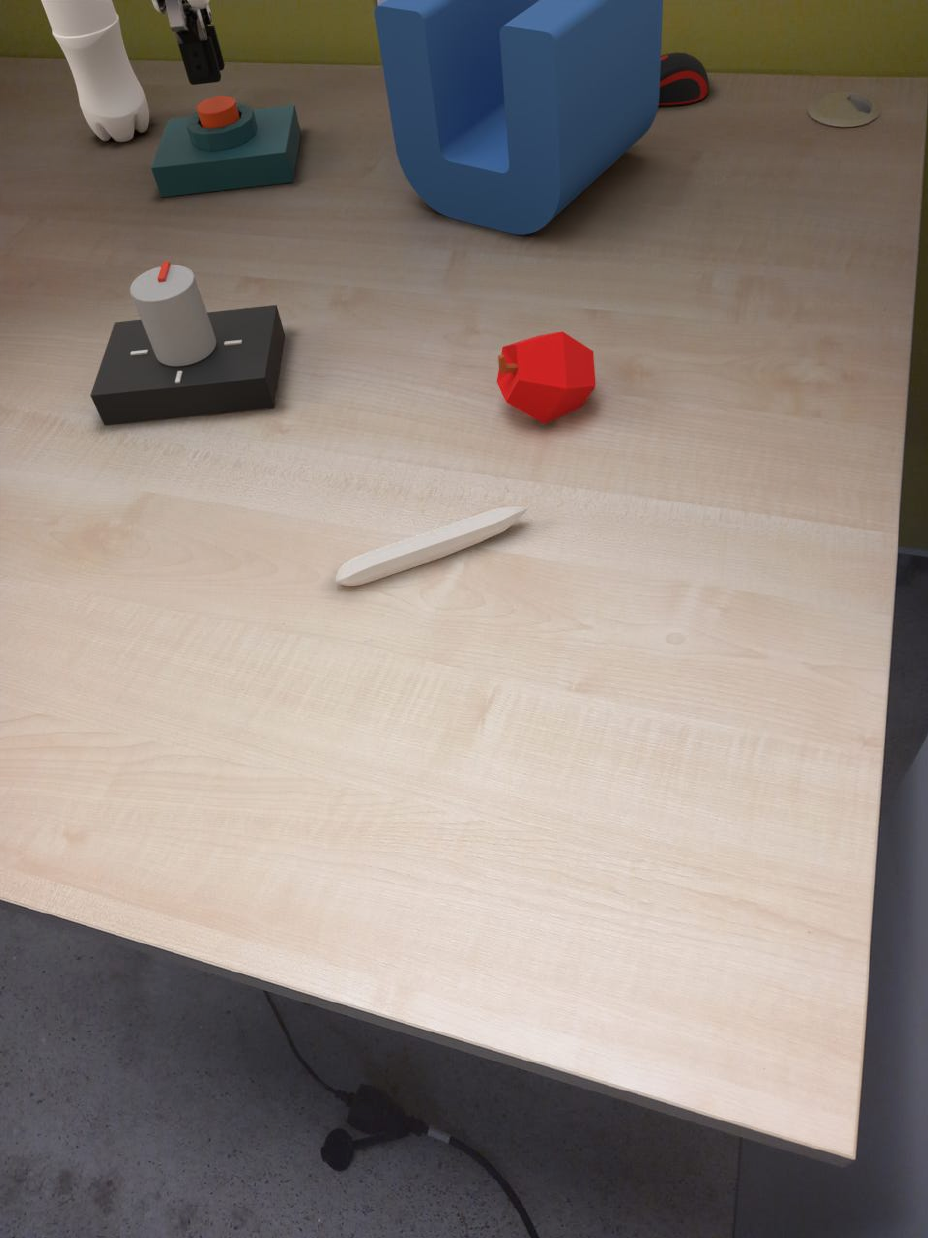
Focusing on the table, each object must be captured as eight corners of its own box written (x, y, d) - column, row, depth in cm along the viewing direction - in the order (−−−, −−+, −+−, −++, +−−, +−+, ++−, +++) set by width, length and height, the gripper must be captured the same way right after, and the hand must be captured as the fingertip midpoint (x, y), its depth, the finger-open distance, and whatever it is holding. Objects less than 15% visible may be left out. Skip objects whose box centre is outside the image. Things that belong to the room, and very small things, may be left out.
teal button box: (161, 197, 107) (144, 150, 103) (177, 148, 114) (162, 102, 110) (292, 182, 106) (281, 133, 102) (301, 133, 113) (290, 86, 109)
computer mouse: (600, 91, 112) (600, 52, 109) (699, 75, 112) (702, 36, 109) (612, 116, 108) (612, 76, 105) (715, 100, 108) (718, 60, 105)
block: (404, 205, 100) (372, 4, 87) (505, 125, 109) (490, -69, 95) (562, 246, 93) (554, 32, 79) (657, 156, 101) (665, -50, 88)
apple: (598, 308, 77) (500, 297, 74) (622, 374, 73) (520, 366, 71) (564, 374, 82) (471, 366, 79) (585, 439, 79) (489, 433, 76)
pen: (534, 527, 70) (533, 510, 69) (340, 594, 68) (335, 578, 67) (525, 513, 71) (524, 495, 70) (334, 579, 69) (329, 562, 68)
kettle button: (199, 132, 105) (194, 115, 104) (204, 114, 108) (199, 97, 107) (237, 127, 105) (232, 110, 104) (241, 110, 108) (237, 93, 106)
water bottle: (164, 131, 117) (78, -131, 98) (106, 153, 115) (7, -110, 96) (141, 112, 121) (54, -143, 102) (84, 133, 119) (-15, -123, 100)
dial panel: (104, 425, 83) (89, 393, 80) (127, 351, 89) (114, 320, 87) (274, 408, 82) (264, 375, 79) (285, 334, 88) (276, 302, 86)
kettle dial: (212, 363, 81) (187, 293, 77) (150, 369, 82) (122, 300, 77) (220, 326, 85) (197, 257, 80) (161, 333, 85) (134, 264, 80)
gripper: (173, -124, 84) (235, 106, 98) (200, -175, 94) (253, 40, 108) (84, -112, 84) (158, 116, 98) (121, -164, 94) (183, 48, 108)
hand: (207, 74), depth 103 cm, fingers closed
